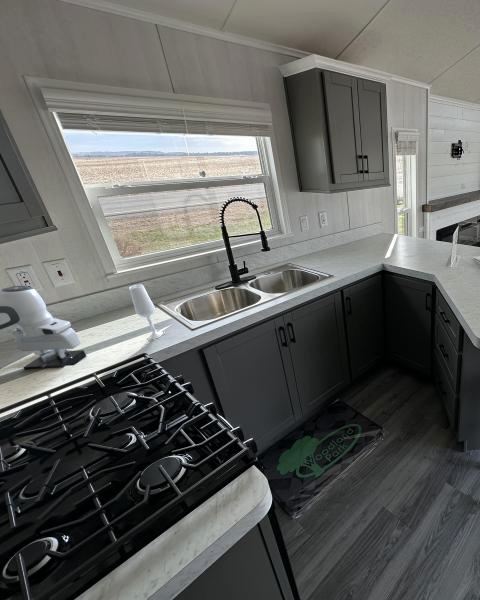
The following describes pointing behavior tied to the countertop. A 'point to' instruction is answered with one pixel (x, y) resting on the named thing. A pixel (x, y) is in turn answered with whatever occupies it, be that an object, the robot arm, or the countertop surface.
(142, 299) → the champagne flute
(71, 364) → the tap plate
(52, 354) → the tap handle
